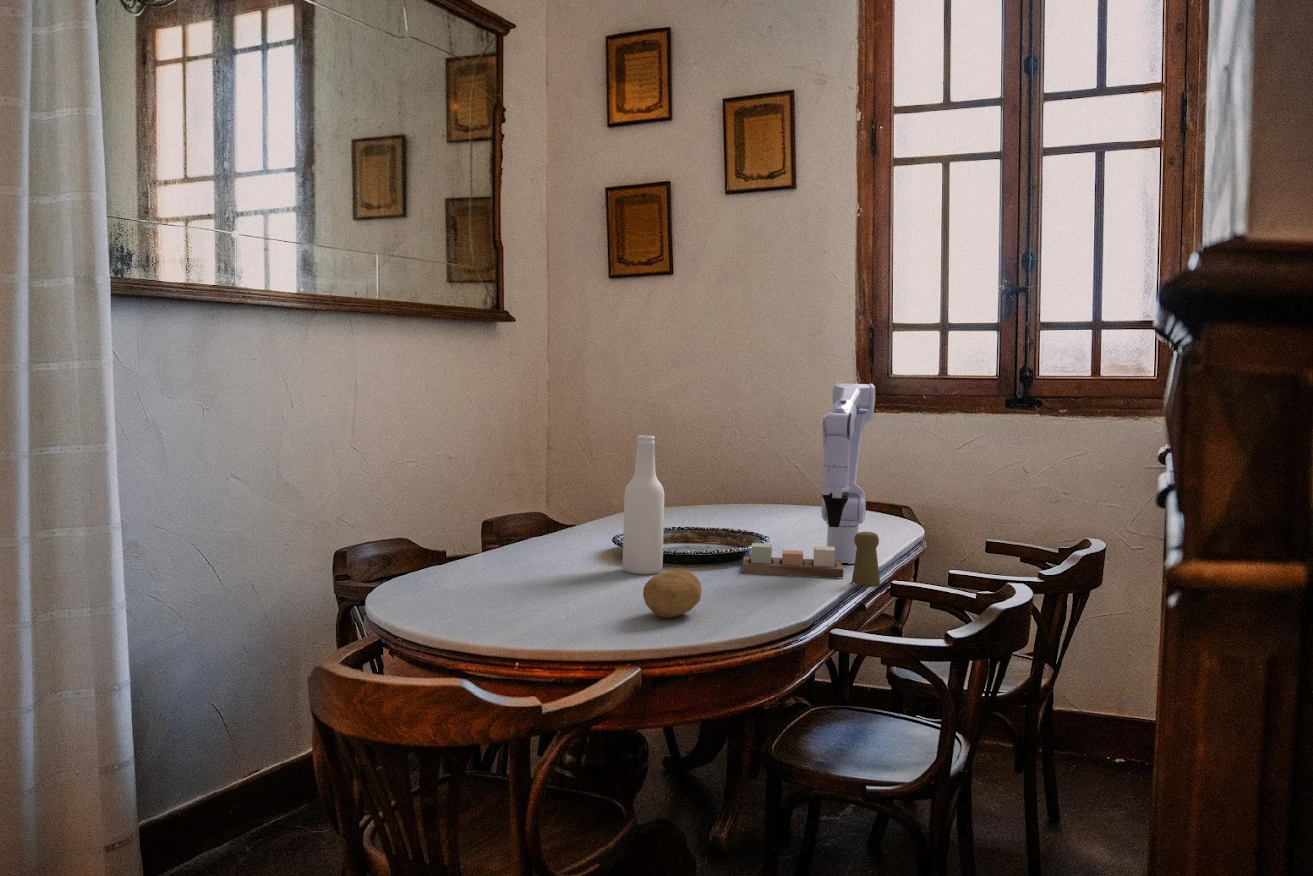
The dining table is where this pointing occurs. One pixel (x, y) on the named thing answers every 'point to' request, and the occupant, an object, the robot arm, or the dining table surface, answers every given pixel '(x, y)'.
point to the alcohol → (643, 514)
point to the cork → (866, 559)
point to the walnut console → (792, 568)
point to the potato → (672, 593)
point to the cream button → (824, 556)
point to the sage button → (761, 553)
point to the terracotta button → (792, 557)
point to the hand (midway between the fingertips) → (833, 526)
